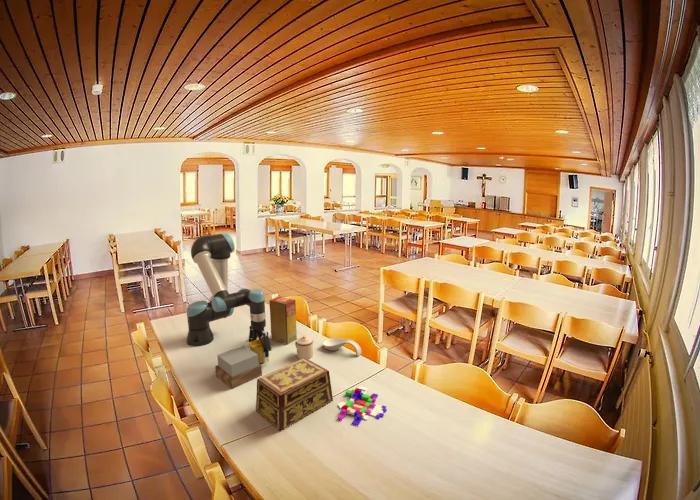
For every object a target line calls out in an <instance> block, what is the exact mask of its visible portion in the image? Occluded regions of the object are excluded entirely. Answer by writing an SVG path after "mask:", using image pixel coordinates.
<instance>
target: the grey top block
mask: <svg viewBox="0 0 700 500" xmlns="http://www.w3.org/2000/svg"><path fill="white" fill-rule="evenodd" d="M259 364H260V363H259ZM259 364H258V355H257V354H256V353H254V352H253V351H251V350H250V348H249V347H246V346H245V345H241V346H239V347H235V348H233V349H231V350H228V351H225V352H222V353H219V354H217V365H218V366H219V367H220V368H221V369H222V370H224V371H225V372H226V373H228V374H229V375H230V376H231V377H234V376H236V375H238V374H241V373H243V372H245V371H248V370H250V369H253V368H255V367H257V366H259Z"/></svg>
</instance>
